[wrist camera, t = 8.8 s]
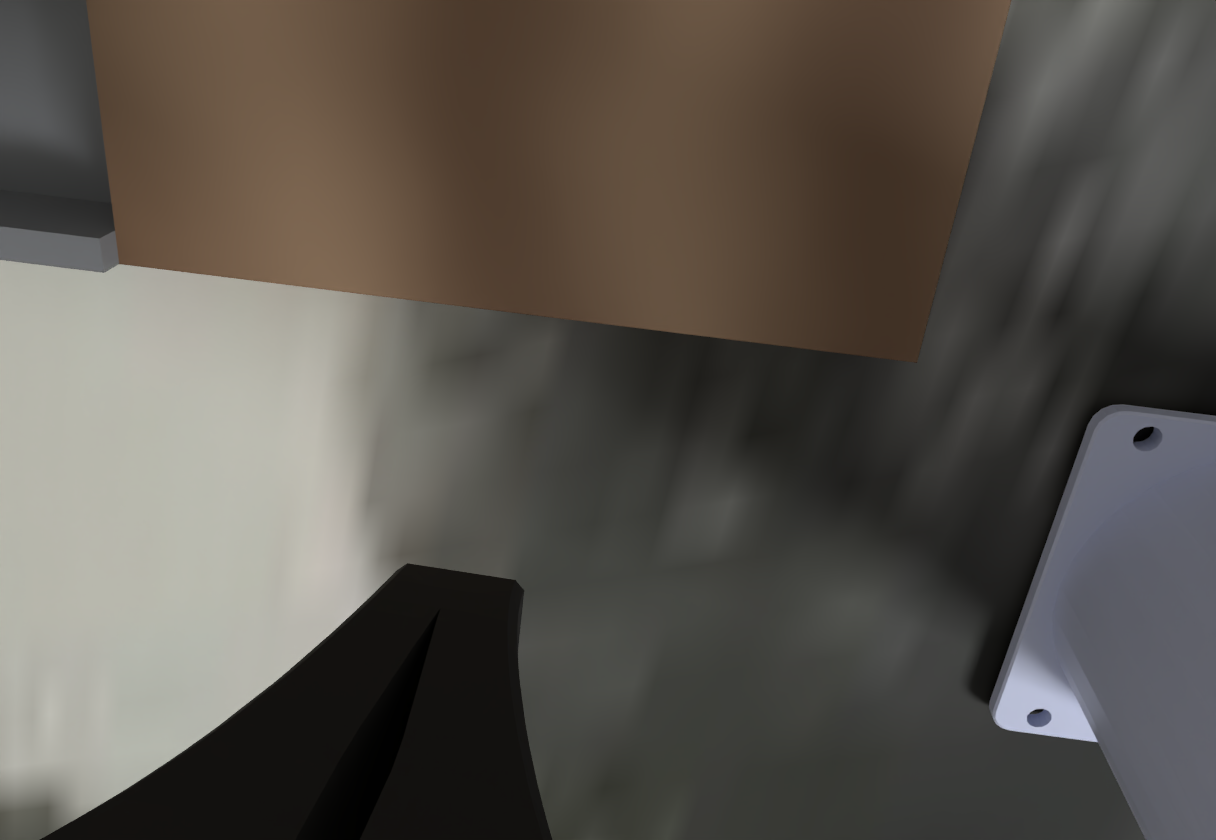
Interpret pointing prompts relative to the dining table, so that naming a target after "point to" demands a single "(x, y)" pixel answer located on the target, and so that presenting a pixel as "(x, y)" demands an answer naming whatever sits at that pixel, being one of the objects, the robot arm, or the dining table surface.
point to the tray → (52, 140)
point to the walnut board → (557, 154)
